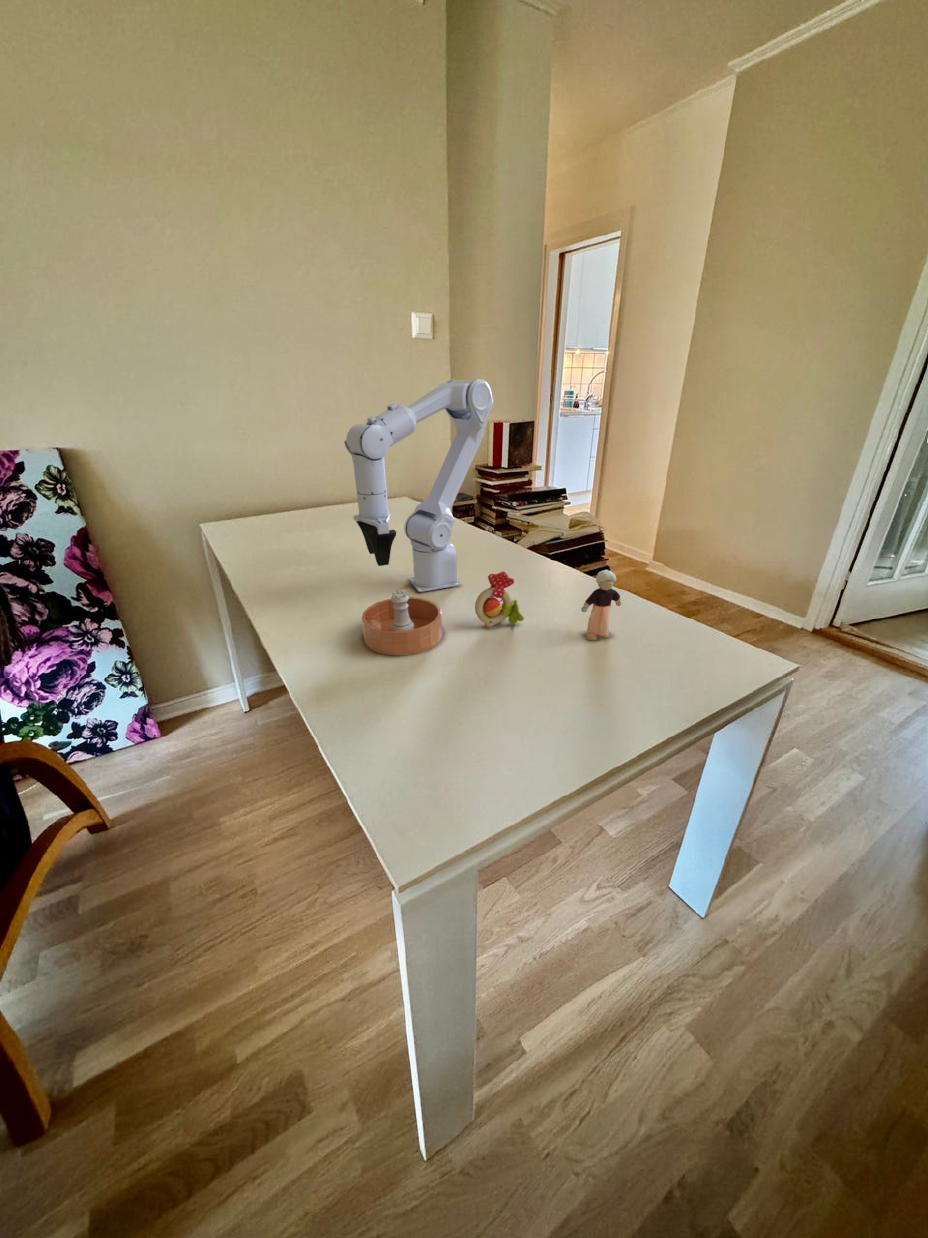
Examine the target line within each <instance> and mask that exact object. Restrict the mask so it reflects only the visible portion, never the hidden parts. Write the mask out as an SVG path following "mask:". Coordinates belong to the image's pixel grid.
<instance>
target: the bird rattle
mask: <svg viewBox="0 0 928 1238" xmlns="http://www.w3.org/2000/svg"><path fill="white" fill-rule="evenodd" d="M487 579H488V583H489V584H490V587H488V588H485V589H484V590H482V591H481V592H480V593H479V594H478V596H477V598H476V600H475V603H474V611H475V614H476V616H477V618H478V619H479V620H480V621H481V622H482V623H483V624H484V626H485V627H486V628H488V629H489V628H491V627H492V626H494V625H498V624H500V623H501V622H503V621H504V620H505V619H507V618H508V623H509V624H510V625H512V626H515V625H516V624H517V623H518V621H519V622H522V621H525V617H524V616H523V614H522V613H521V612H520V607H519V604H518V599H516V598H515V599H512V597H511V595H510V594H509V593H508V591H506V590H505V589H506V588H509V587H511V586H512V585H514V583H515V579H514V578H512V577H509V575H508V573H507V572H505V570H503V571H500V572H498V573H489V574H488V576H487ZM498 599H500V600H498ZM500 602H502V604H501V603H500Z"/></svg>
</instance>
